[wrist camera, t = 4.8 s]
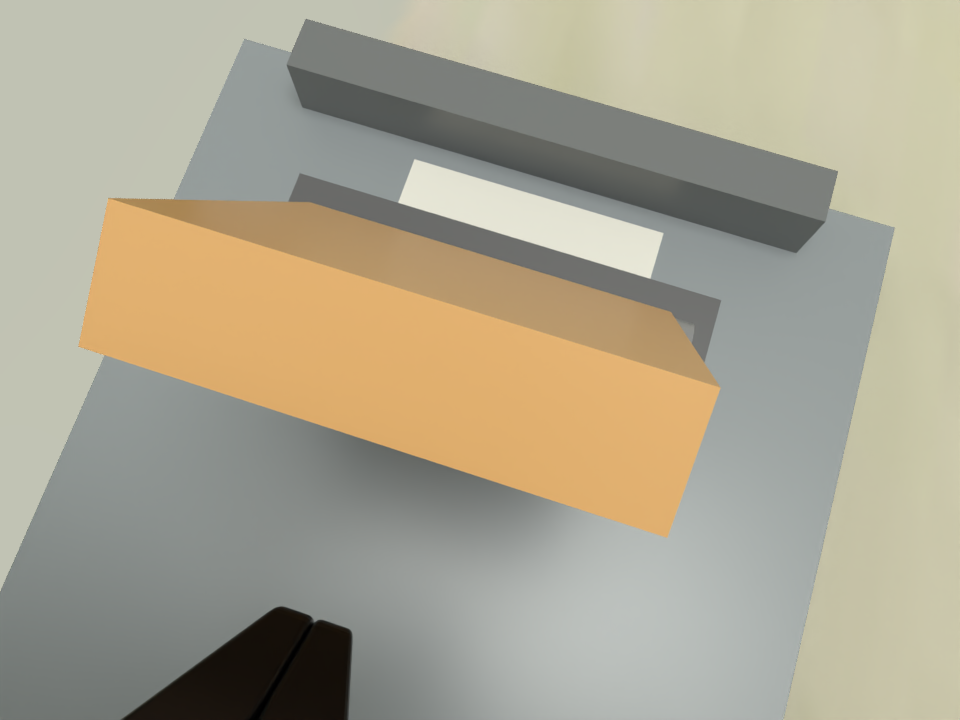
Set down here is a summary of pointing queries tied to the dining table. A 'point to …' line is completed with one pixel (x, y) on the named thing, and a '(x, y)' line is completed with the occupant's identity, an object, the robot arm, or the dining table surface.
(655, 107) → the dining table surface
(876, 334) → the dining table surface
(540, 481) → the lever
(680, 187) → the switch board
